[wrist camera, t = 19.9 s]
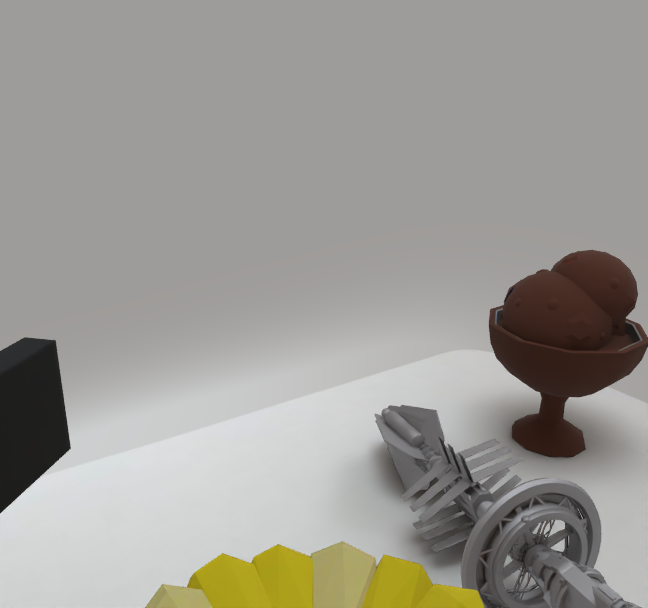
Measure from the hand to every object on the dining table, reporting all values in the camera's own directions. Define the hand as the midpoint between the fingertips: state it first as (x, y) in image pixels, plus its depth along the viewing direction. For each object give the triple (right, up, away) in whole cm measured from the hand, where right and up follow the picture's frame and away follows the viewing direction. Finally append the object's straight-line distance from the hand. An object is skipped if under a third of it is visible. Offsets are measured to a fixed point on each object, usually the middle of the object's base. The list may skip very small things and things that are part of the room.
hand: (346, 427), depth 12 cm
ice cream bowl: (+17, -8, +34) cm, 39 cm away
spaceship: (+10, -14, +18) cm, 24 cm away
